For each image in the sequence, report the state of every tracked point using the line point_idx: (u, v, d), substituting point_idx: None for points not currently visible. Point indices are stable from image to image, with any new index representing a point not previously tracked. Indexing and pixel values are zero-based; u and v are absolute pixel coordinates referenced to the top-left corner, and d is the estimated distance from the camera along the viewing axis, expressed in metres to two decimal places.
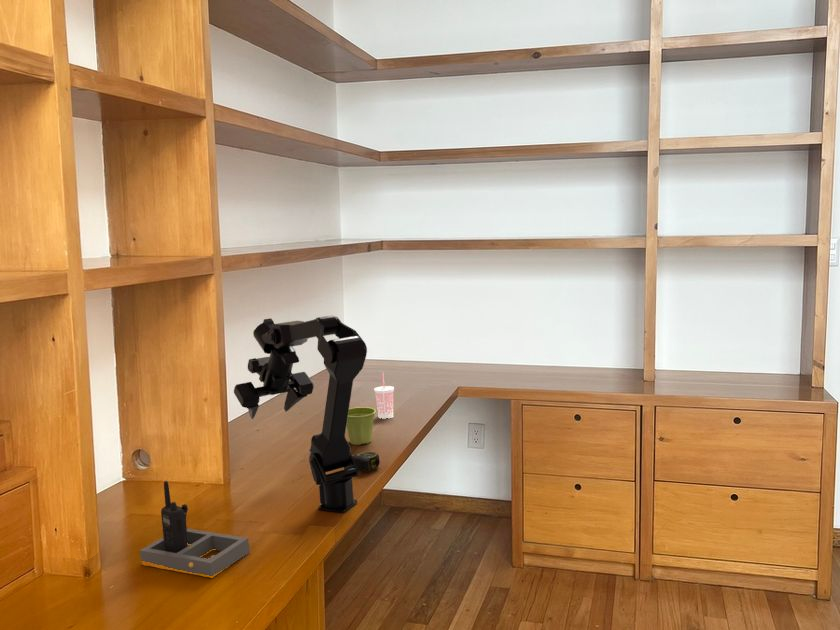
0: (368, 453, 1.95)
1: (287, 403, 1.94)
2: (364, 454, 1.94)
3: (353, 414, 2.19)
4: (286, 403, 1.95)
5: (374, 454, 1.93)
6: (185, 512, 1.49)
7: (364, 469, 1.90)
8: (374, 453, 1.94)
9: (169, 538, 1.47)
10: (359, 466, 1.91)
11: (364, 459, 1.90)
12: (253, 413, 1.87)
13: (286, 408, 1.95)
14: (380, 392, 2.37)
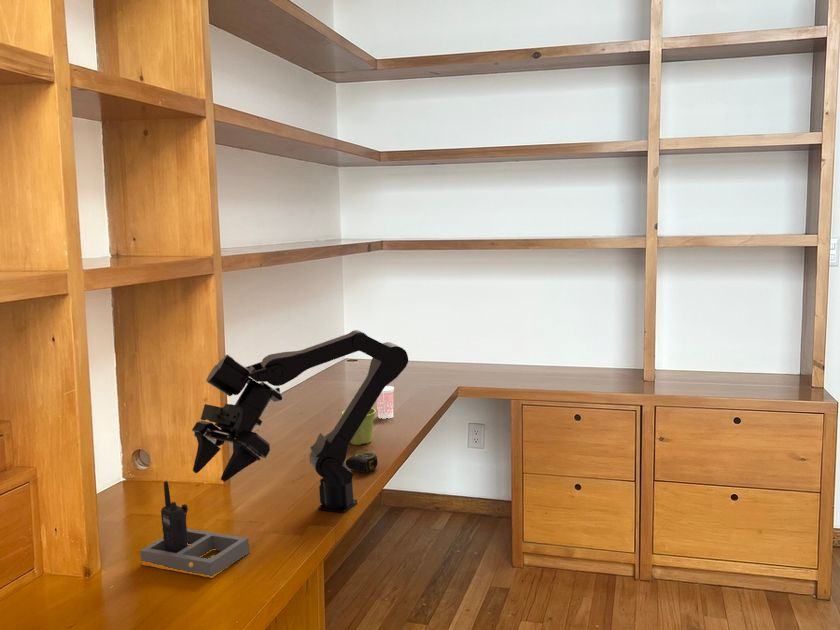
0: (366, 454, 1.94)
1: (201, 461, 1.57)
2: (362, 455, 1.94)
3: None
4: (200, 462, 1.57)
5: (372, 455, 1.93)
6: (185, 512, 1.49)
7: (362, 470, 1.89)
8: (372, 454, 1.93)
9: (169, 538, 1.47)
10: (357, 467, 1.90)
11: (362, 460, 1.90)
12: None
13: (200, 468, 1.57)
14: None
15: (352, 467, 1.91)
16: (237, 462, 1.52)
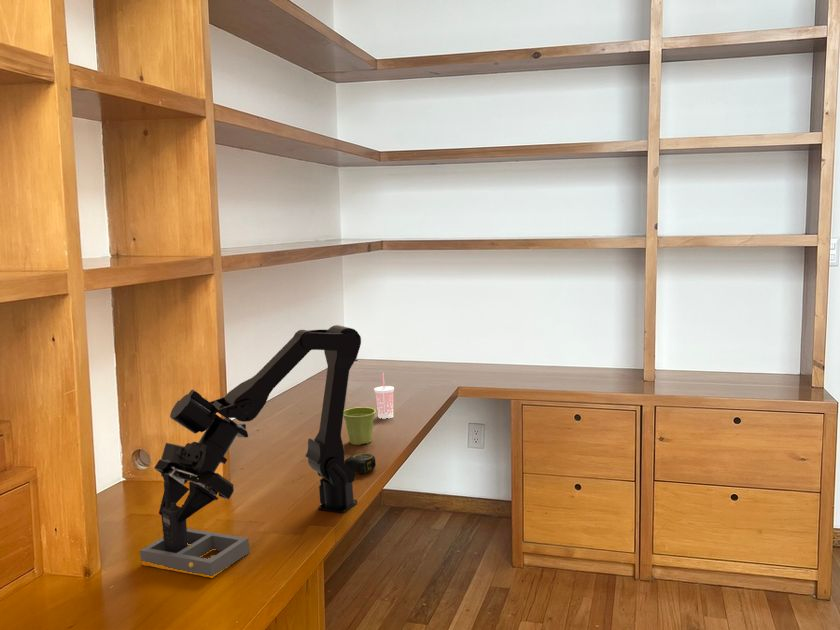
0: (364, 455, 1.93)
1: None
2: (360, 456, 1.93)
3: (353, 414, 2.19)
4: None
5: (370, 456, 1.92)
6: None
7: (360, 471, 1.89)
8: (370, 455, 1.93)
9: (169, 538, 1.47)
10: (355, 468, 1.89)
11: (360, 461, 1.89)
12: None
13: None
14: (380, 392, 2.37)
15: None
16: (193, 502, 1.46)
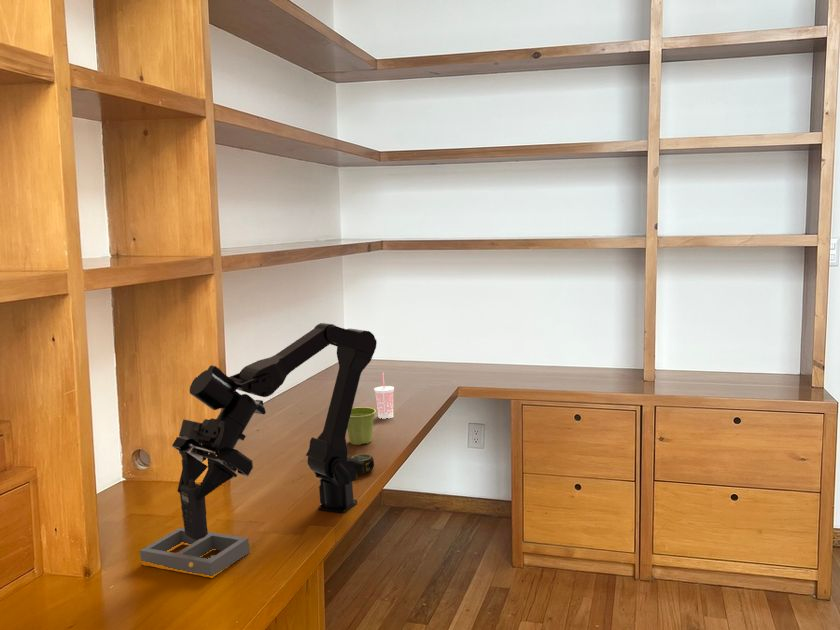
0: (362, 456, 1.93)
1: None
2: (358, 456, 1.93)
3: (353, 414, 2.19)
4: None
5: (368, 457, 1.92)
6: None
7: (358, 472, 1.88)
8: (368, 456, 1.92)
9: (188, 516, 1.44)
10: None
11: (358, 462, 1.89)
12: None
13: None
14: (380, 392, 2.37)
15: None
16: (212, 479, 1.44)
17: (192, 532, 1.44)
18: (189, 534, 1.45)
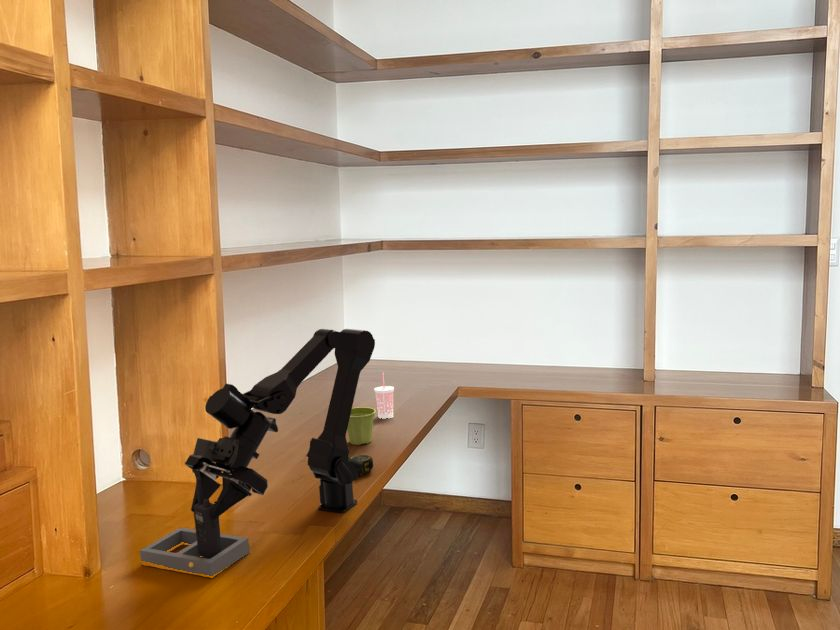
0: (362, 456, 1.93)
1: None
2: (358, 457, 1.92)
3: (353, 414, 2.19)
4: None
5: (368, 457, 1.91)
6: None
7: None
8: (368, 456, 1.92)
9: (202, 535, 1.43)
10: None
11: (357, 462, 1.88)
12: None
13: None
14: (380, 392, 2.37)
15: None
16: (227, 498, 1.43)
17: (206, 552, 1.43)
18: (203, 554, 1.44)
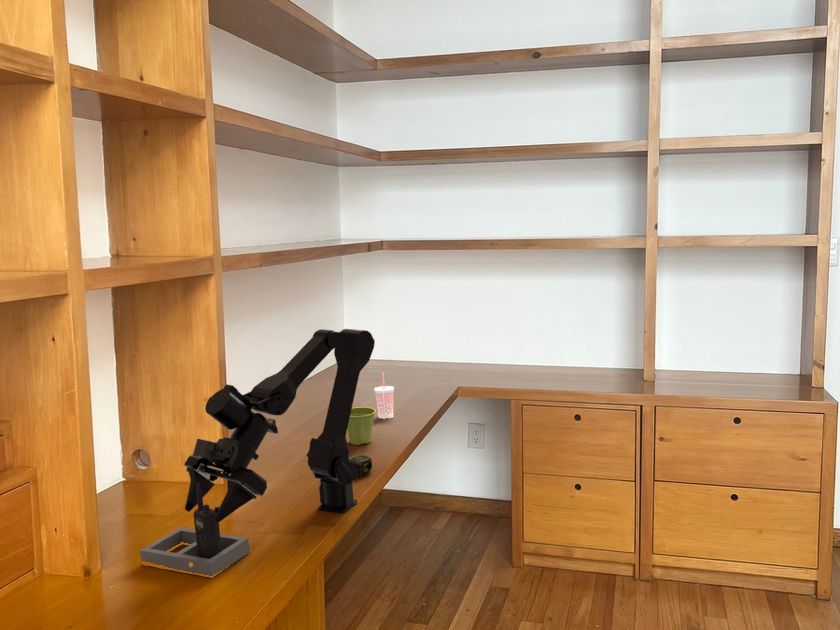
0: (360, 456, 1.92)
1: (194, 498, 1.48)
2: (356, 457, 1.92)
3: (353, 414, 2.19)
4: (192, 499, 1.47)
5: (366, 458, 1.91)
6: None
7: None
8: (366, 456, 1.92)
9: (202, 541, 1.43)
10: None
11: (356, 463, 1.88)
12: None
13: (192, 506, 1.47)
14: (380, 392, 2.37)
15: None
16: (232, 501, 1.42)
17: (206, 558, 1.43)
18: None
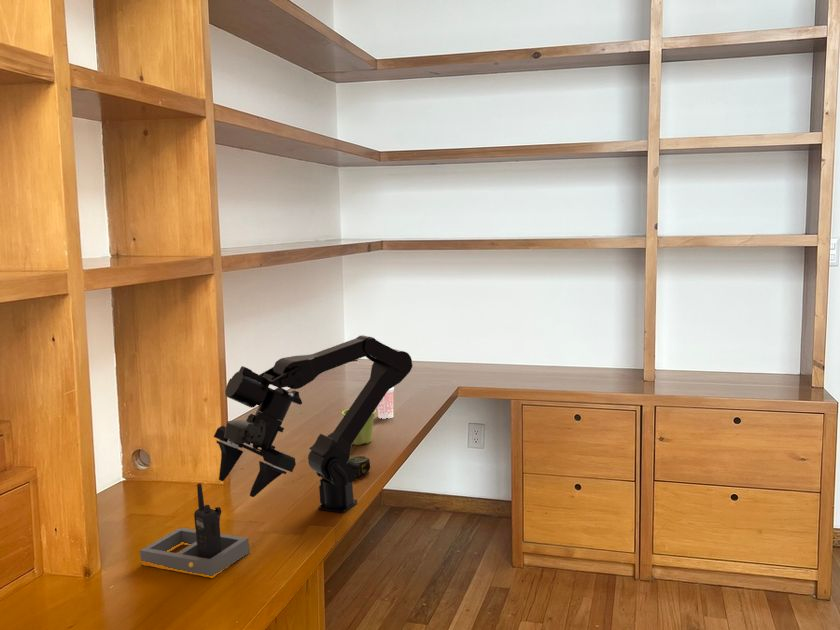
0: (358, 457, 1.92)
1: (226, 469, 1.59)
2: (355, 458, 1.91)
3: None
4: (225, 470, 1.59)
5: (365, 458, 1.90)
6: (219, 515, 1.46)
7: None
8: (365, 457, 1.91)
9: (203, 541, 1.43)
10: None
11: (354, 464, 1.88)
12: None
13: (225, 476, 1.59)
14: None
15: None
16: (264, 478, 1.54)
17: (206, 558, 1.43)
18: None
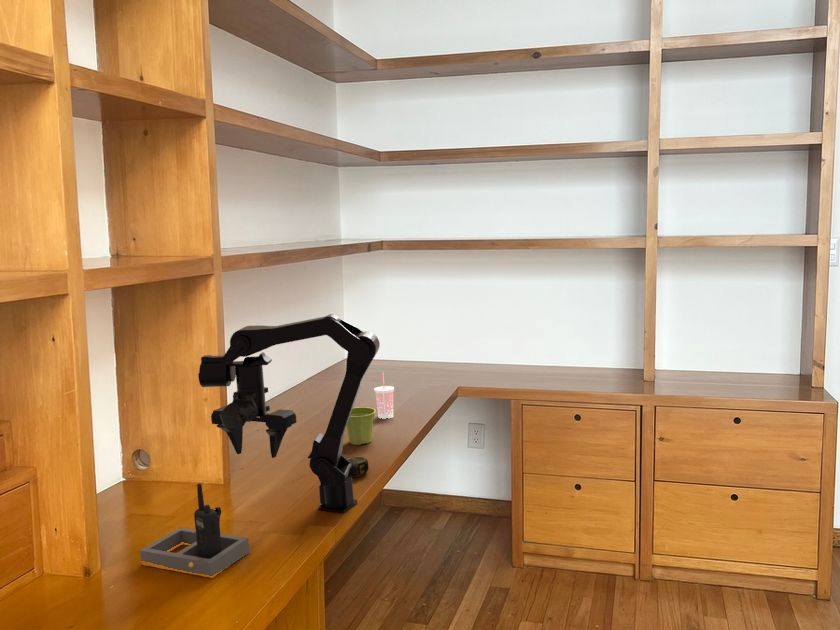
0: (357, 458, 1.91)
1: (238, 442, 1.71)
2: (353, 459, 1.91)
3: (353, 414, 2.19)
4: (238, 444, 1.71)
5: (363, 459, 1.90)
6: (219, 515, 1.46)
7: (352, 475, 1.87)
8: (363, 458, 1.91)
9: (203, 541, 1.43)
10: None
11: (352, 464, 1.87)
12: None
13: (240, 448, 1.72)
14: (380, 392, 2.37)
15: None
16: (276, 439, 1.67)
17: (206, 558, 1.43)
18: None
